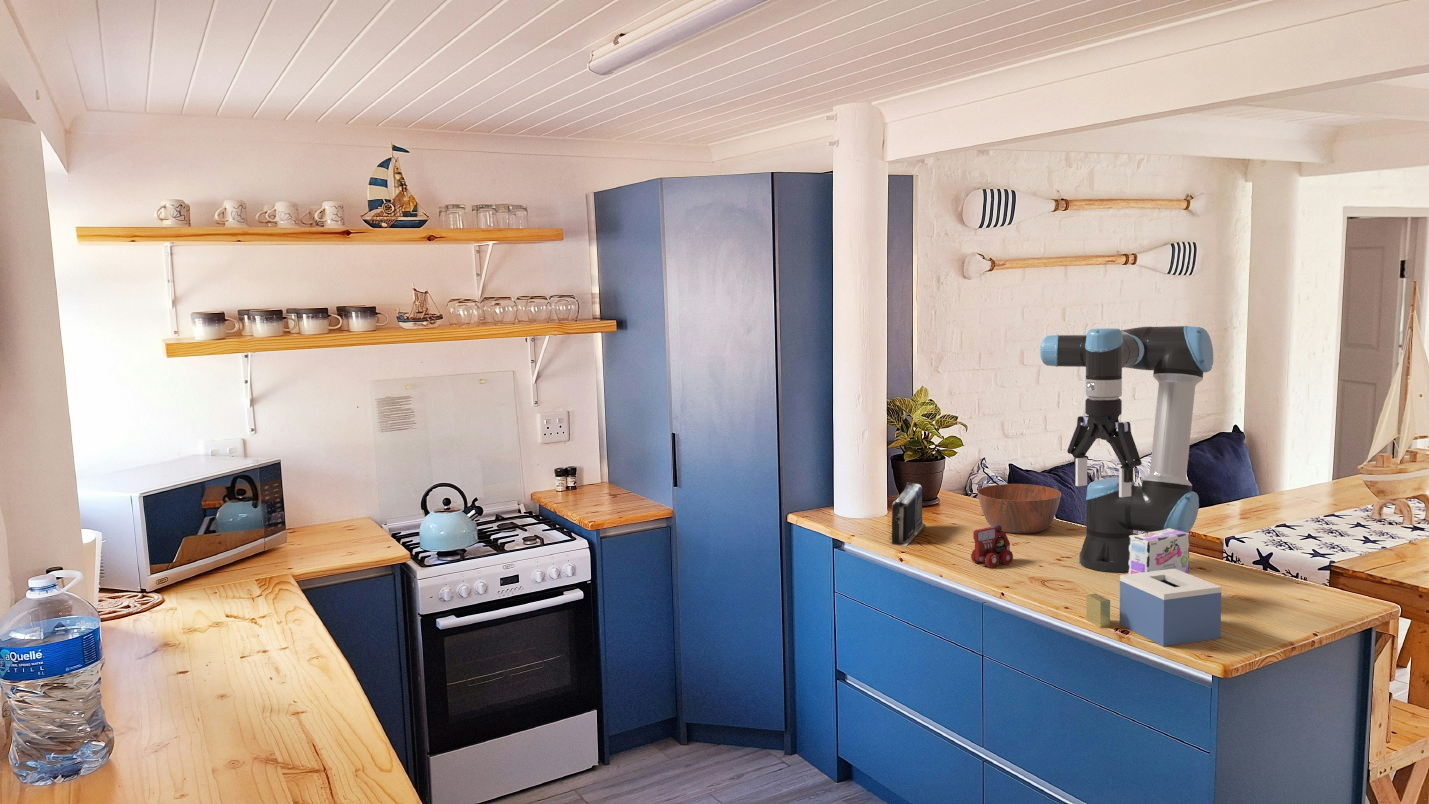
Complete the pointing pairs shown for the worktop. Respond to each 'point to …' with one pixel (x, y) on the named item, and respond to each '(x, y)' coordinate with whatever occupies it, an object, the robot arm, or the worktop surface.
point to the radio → (907, 515)
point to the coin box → (1170, 606)
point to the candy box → (1159, 551)
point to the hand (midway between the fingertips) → (1102, 490)
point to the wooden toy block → (1098, 610)
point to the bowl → (1019, 507)
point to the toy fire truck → (991, 547)
